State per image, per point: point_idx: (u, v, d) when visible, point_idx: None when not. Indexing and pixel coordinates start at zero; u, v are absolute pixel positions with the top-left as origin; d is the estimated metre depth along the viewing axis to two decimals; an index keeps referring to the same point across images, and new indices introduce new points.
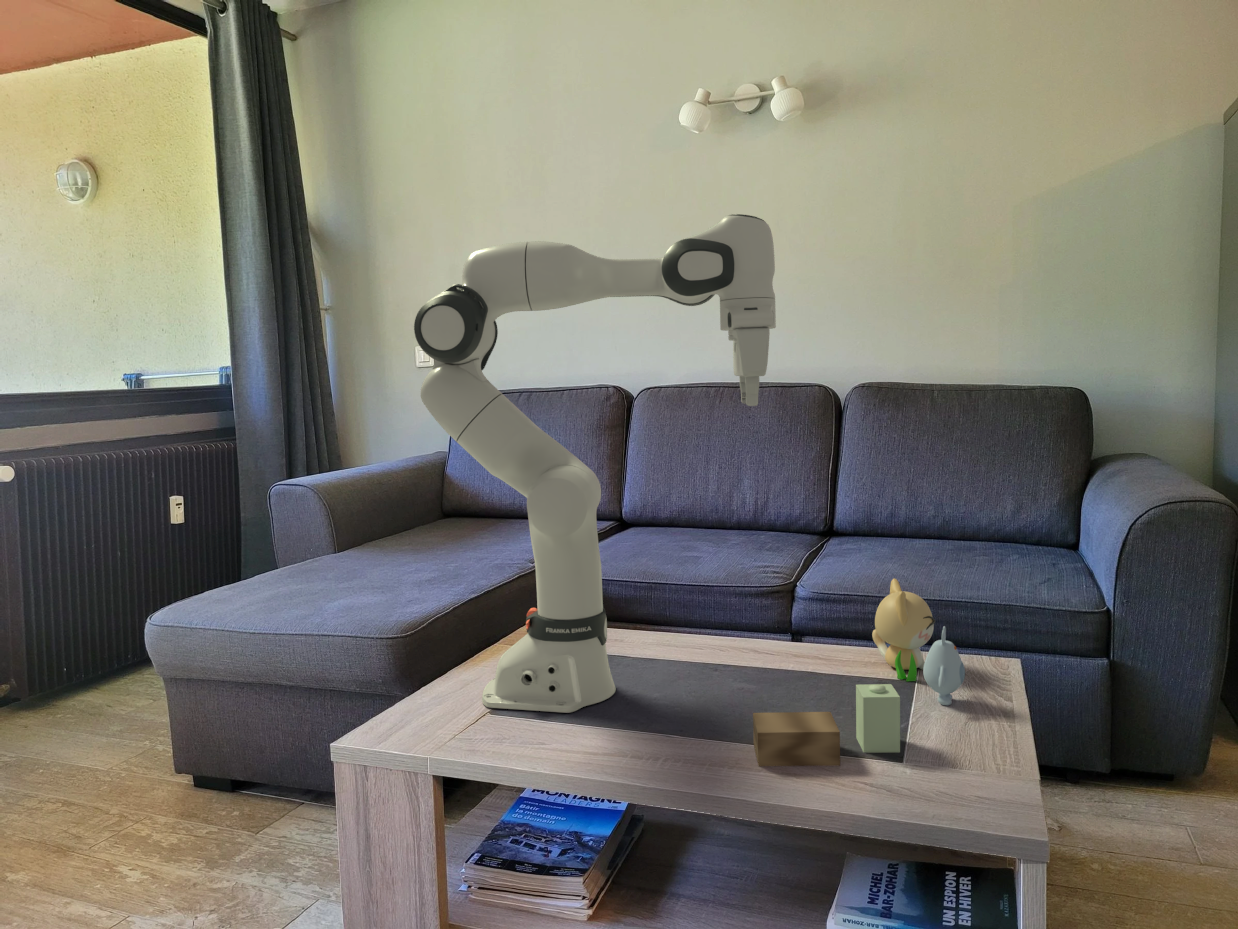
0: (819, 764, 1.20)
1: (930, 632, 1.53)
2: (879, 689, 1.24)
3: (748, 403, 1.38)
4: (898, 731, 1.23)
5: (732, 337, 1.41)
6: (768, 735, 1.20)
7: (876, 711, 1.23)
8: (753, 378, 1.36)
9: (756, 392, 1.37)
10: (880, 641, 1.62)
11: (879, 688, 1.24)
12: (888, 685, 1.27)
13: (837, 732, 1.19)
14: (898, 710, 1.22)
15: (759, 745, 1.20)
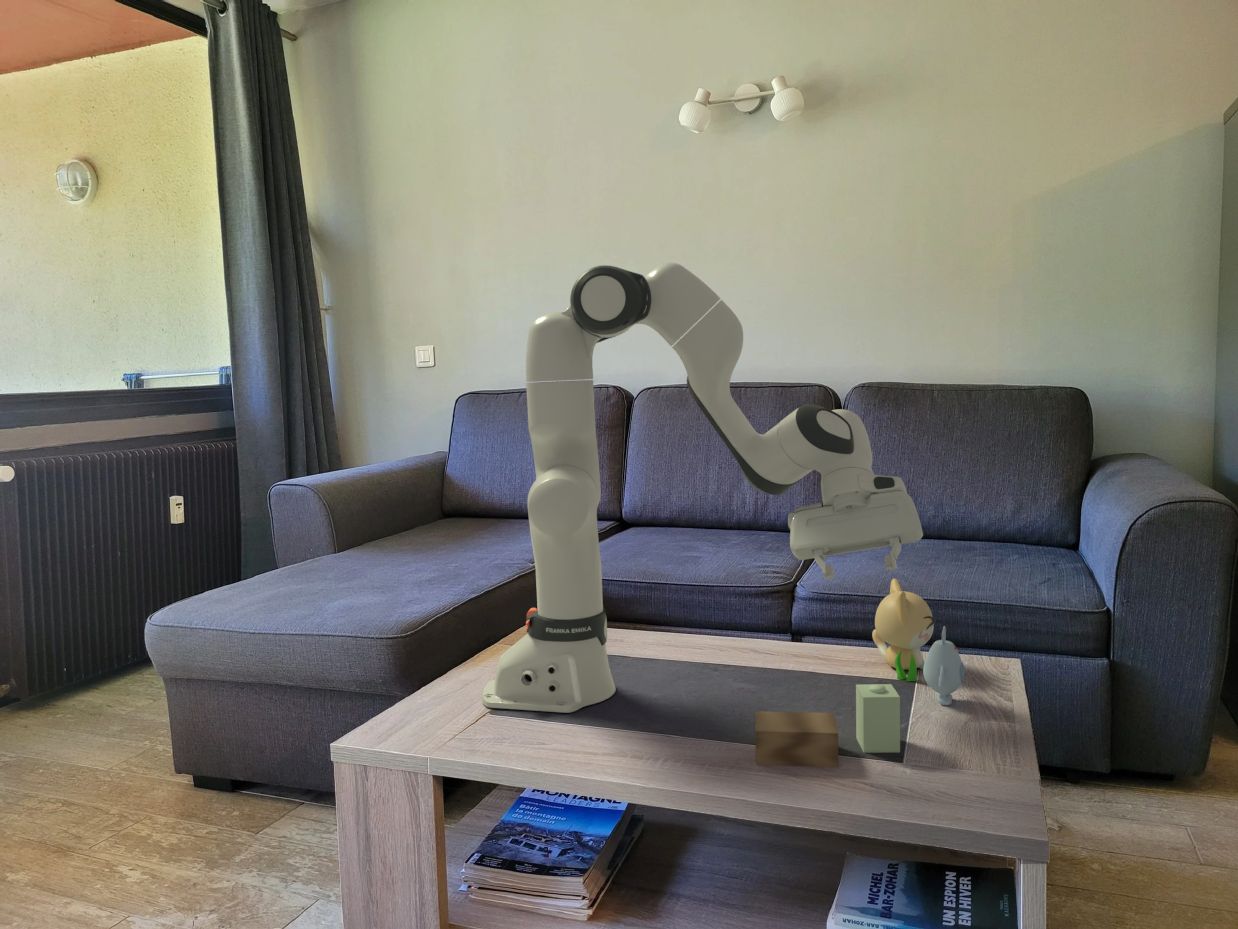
0: (817, 765, 1.20)
1: (930, 632, 1.53)
2: (879, 689, 1.24)
3: (895, 562, 1.33)
4: (898, 731, 1.23)
5: (859, 502, 1.39)
6: (766, 734, 1.20)
7: (876, 711, 1.23)
8: (899, 542, 1.35)
9: (896, 556, 1.35)
10: (880, 641, 1.62)
11: (879, 688, 1.24)
12: (888, 685, 1.27)
13: (835, 733, 1.19)
14: (898, 710, 1.22)
15: (757, 743, 1.20)
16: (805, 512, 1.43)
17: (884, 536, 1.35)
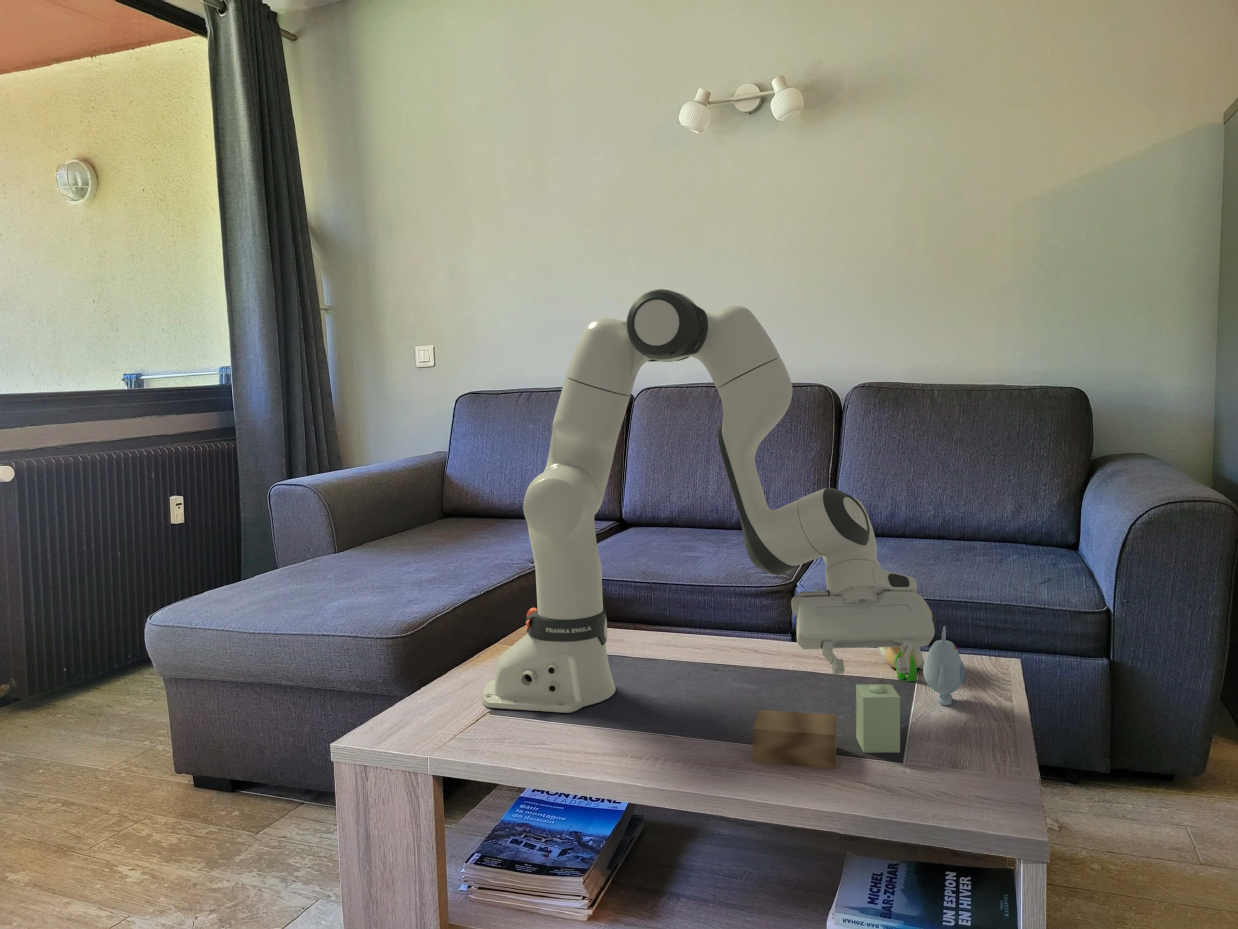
0: (814, 766, 1.19)
1: None
2: (879, 689, 1.24)
3: (909, 666, 1.29)
4: (898, 731, 1.23)
5: (873, 598, 1.34)
6: (763, 732, 1.21)
7: (876, 711, 1.23)
8: None
9: None
10: None
11: (879, 688, 1.24)
12: (888, 685, 1.27)
13: (832, 735, 1.18)
14: (898, 710, 1.22)
15: (754, 741, 1.21)
16: (813, 599, 1.36)
17: (898, 637, 1.31)
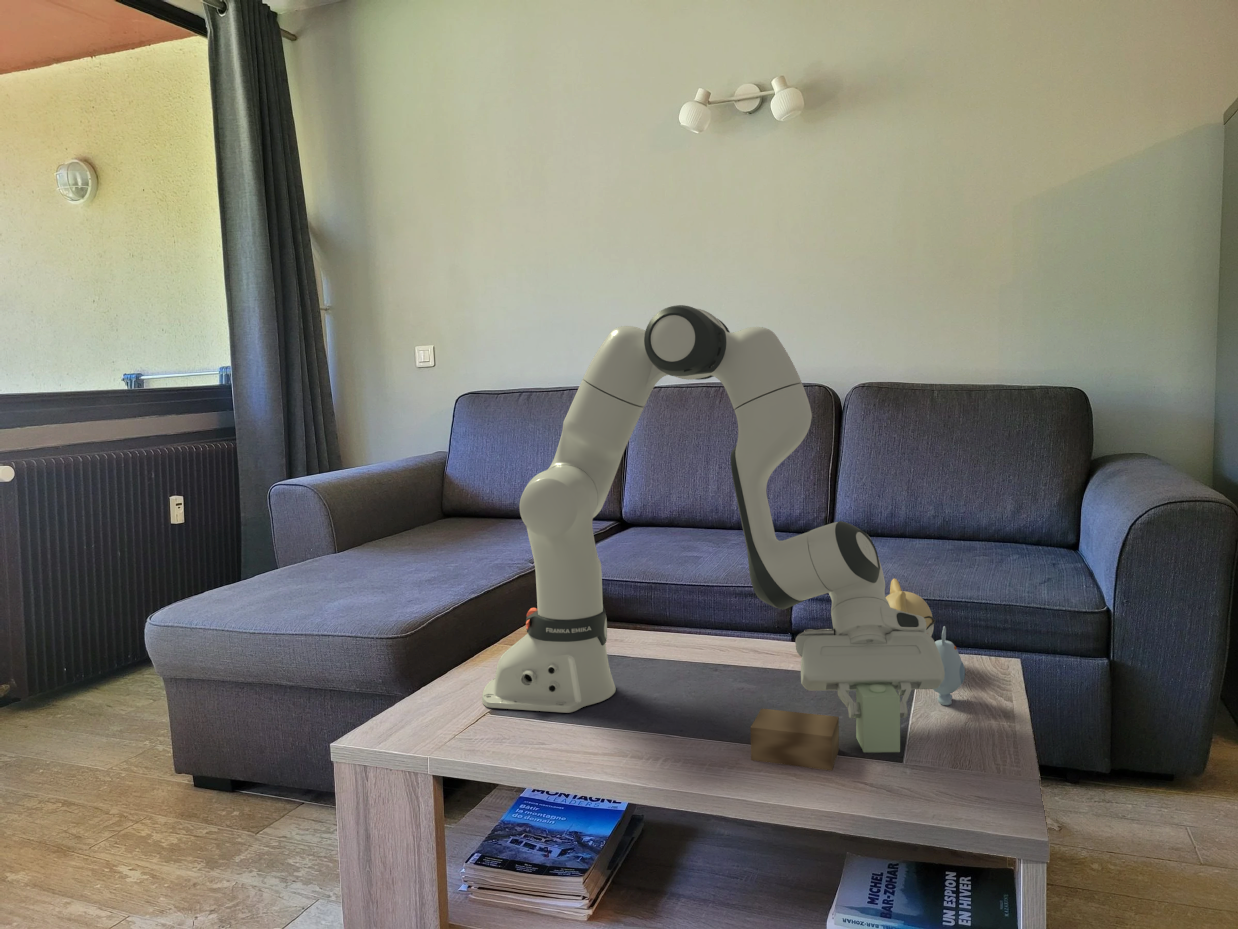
0: (811, 766, 1.19)
1: (930, 632, 1.53)
2: (879, 689, 1.24)
3: None
4: (898, 731, 1.23)
5: (881, 638, 1.29)
6: (760, 731, 1.21)
7: (876, 711, 1.23)
8: None
9: None
10: None
11: (879, 688, 1.24)
12: (888, 685, 1.27)
13: (829, 737, 1.18)
14: (898, 710, 1.22)
15: (752, 740, 1.22)
16: (818, 638, 1.31)
17: (907, 680, 1.26)
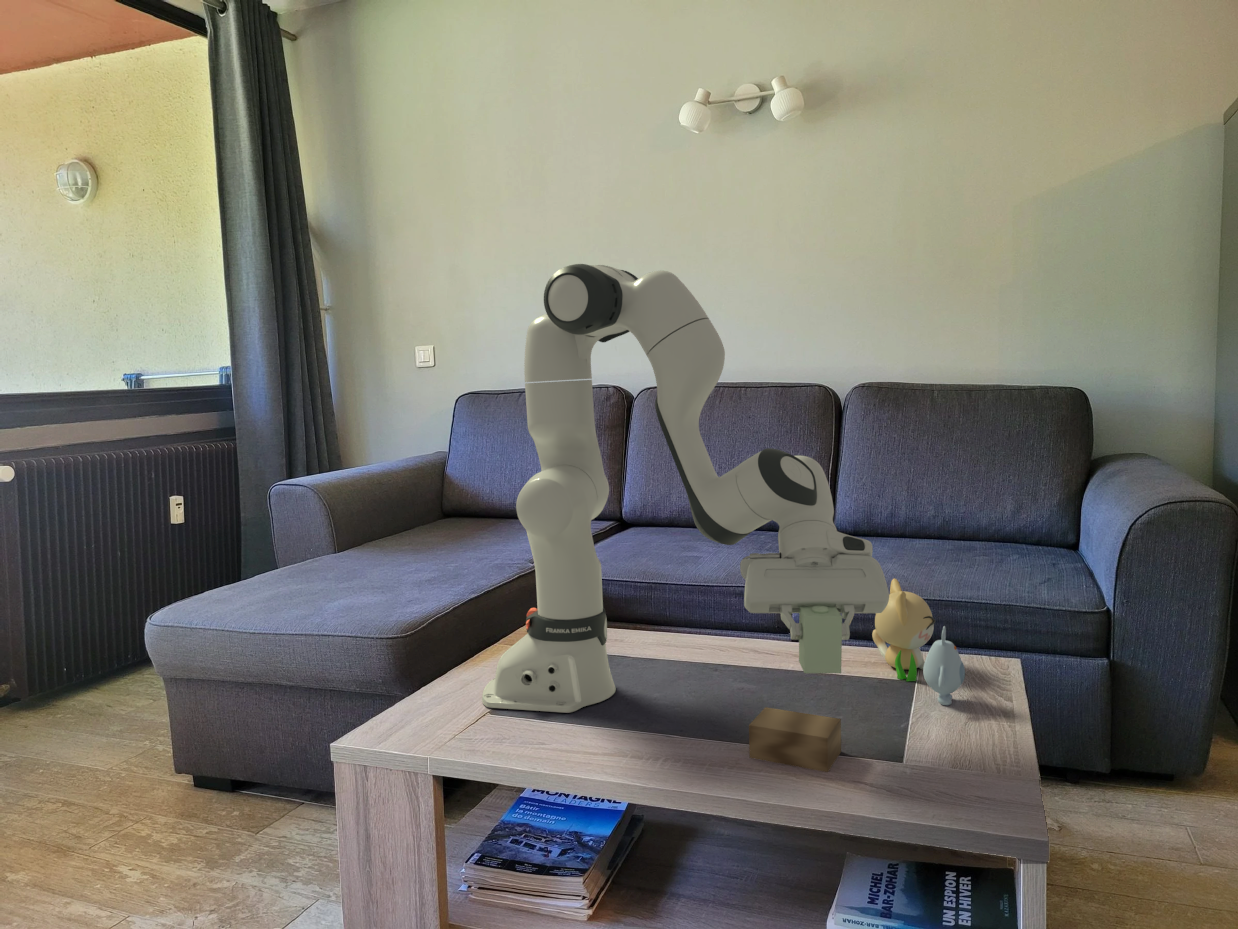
0: (807, 767, 1.19)
1: (930, 632, 1.53)
2: (822, 609, 1.21)
3: (849, 633, 1.22)
4: (839, 651, 1.20)
5: (826, 561, 1.27)
6: (758, 729, 1.22)
7: (818, 631, 1.20)
8: None
9: None
10: (880, 641, 1.62)
11: (822, 608, 1.22)
12: (832, 607, 1.24)
13: (825, 738, 1.17)
14: (840, 630, 1.20)
15: (750, 737, 1.23)
16: (763, 561, 1.28)
17: (850, 602, 1.24)
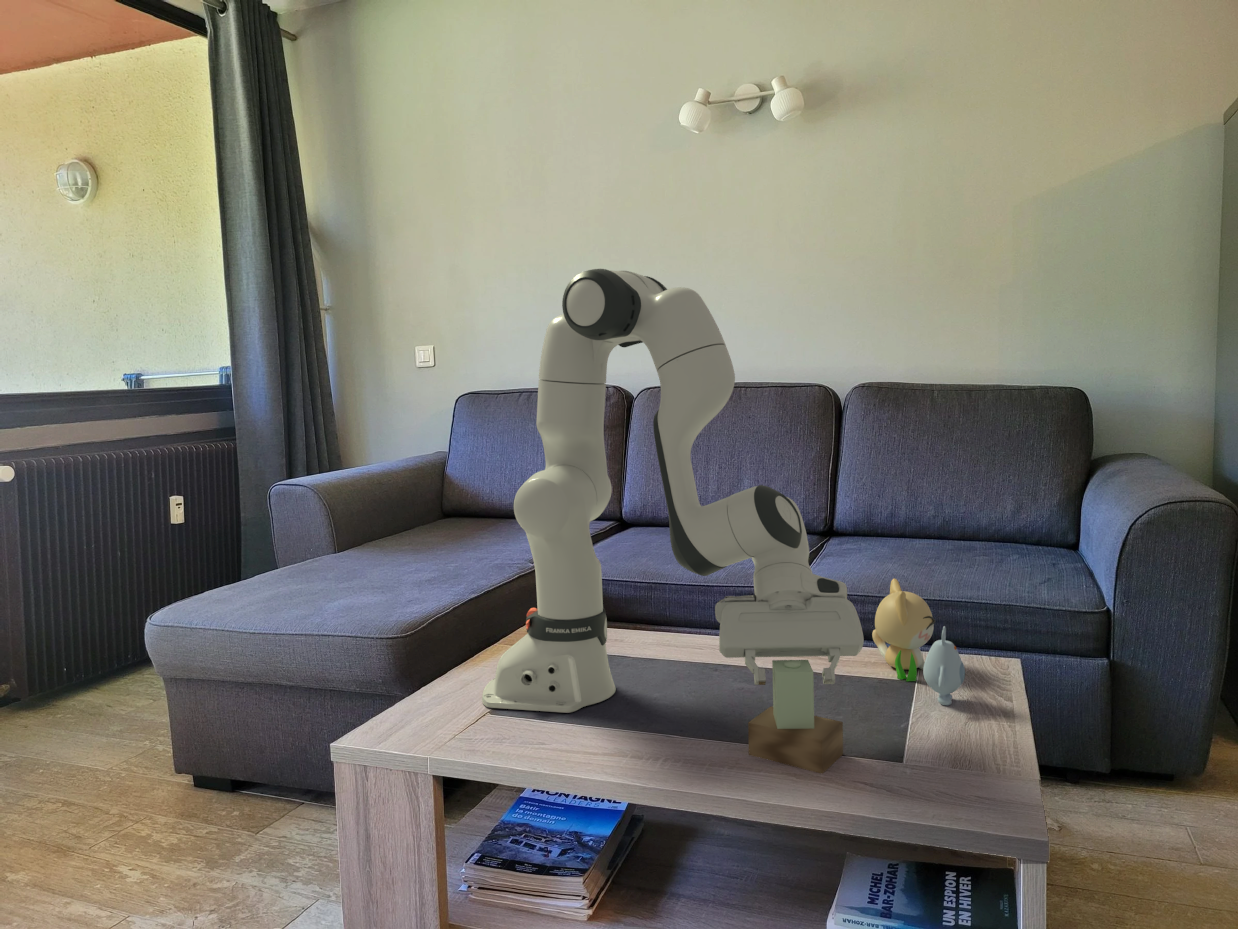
0: (803, 767, 1.19)
1: (930, 632, 1.53)
2: (793, 664, 1.21)
3: None
4: (812, 707, 1.20)
5: (800, 604, 1.26)
6: (757, 727, 1.23)
7: (789, 686, 1.20)
8: None
9: (834, 670, 1.23)
10: (880, 641, 1.62)
11: (794, 663, 1.22)
12: (804, 661, 1.24)
13: (820, 740, 1.17)
14: (812, 685, 1.20)
15: (749, 735, 1.23)
16: (737, 604, 1.28)
17: (825, 646, 1.23)
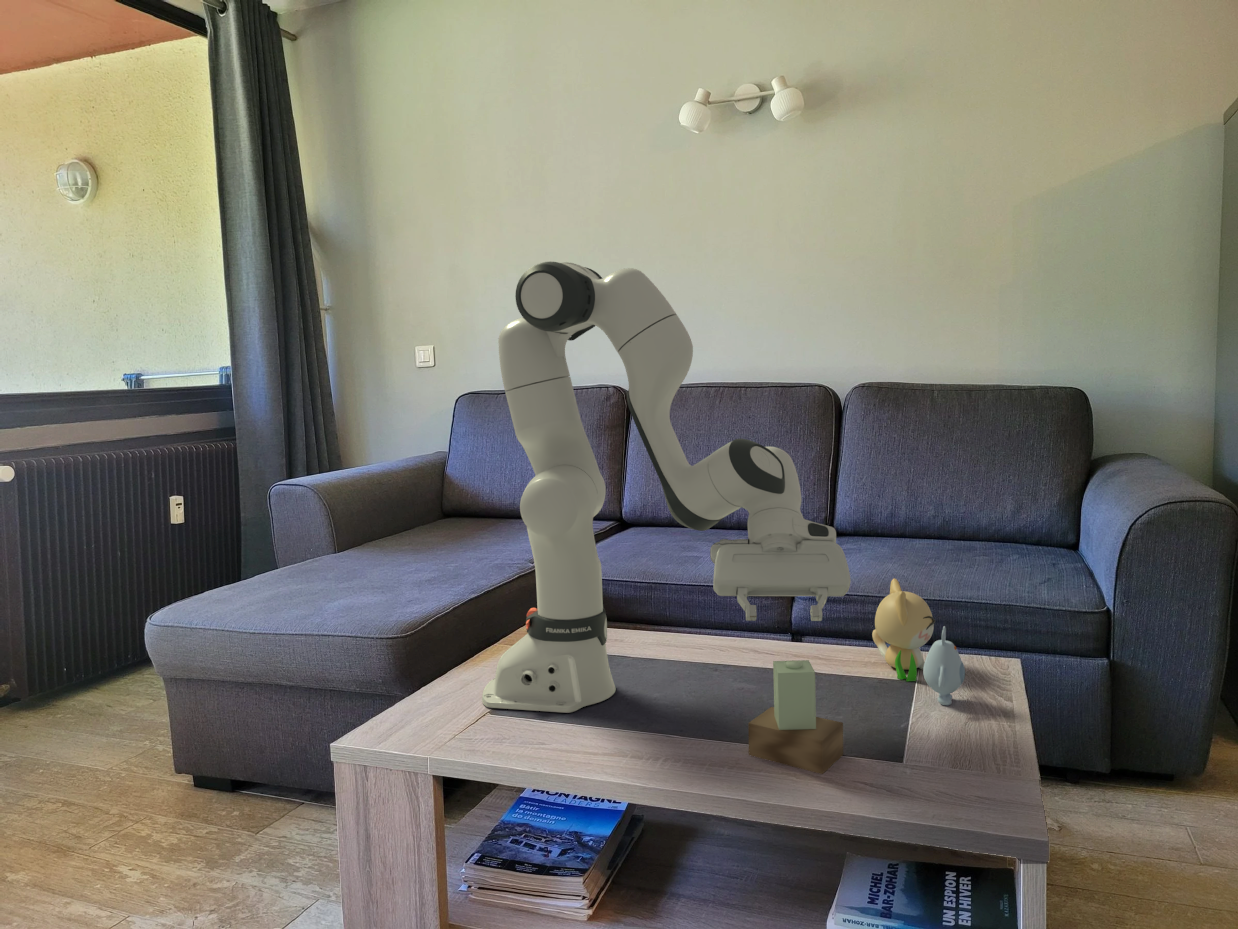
0: (803, 768, 1.19)
1: (930, 632, 1.53)
2: (795, 665, 1.21)
3: None
4: (814, 707, 1.20)
5: (791, 546, 1.33)
6: (757, 727, 1.22)
7: (791, 687, 1.20)
8: None
9: (821, 608, 1.30)
10: (880, 641, 1.62)
11: (795, 664, 1.22)
12: (805, 661, 1.24)
13: (820, 740, 1.17)
14: (813, 686, 1.20)
15: (749, 735, 1.23)
16: (731, 546, 1.35)
17: (813, 585, 1.30)
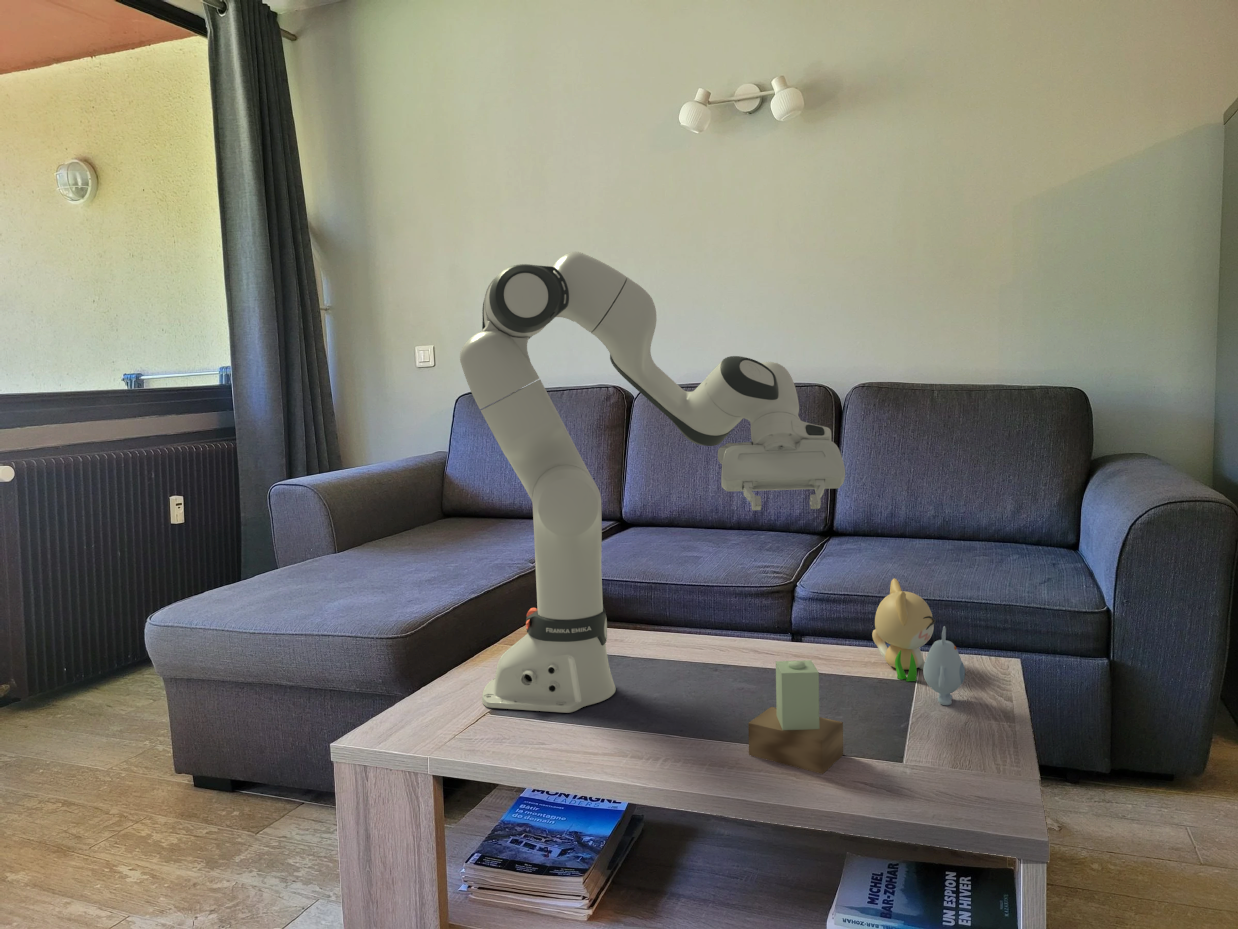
0: (803, 768, 1.19)
1: (930, 632, 1.53)
2: (798, 665, 1.21)
3: (820, 502, 1.42)
4: (817, 707, 1.20)
5: (791, 445, 1.47)
6: (757, 727, 1.22)
7: (795, 687, 1.20)
8: None
9: None
10: (880, 641, 1.62)
11: (798, 664, 1.21)
12: (808, 661, 1.24)
13: (820, 740, 1.17)
14: (817, 686, 1.20)
15: (749, 735, 1.23)
16: (737, 447, 1.48)
17: (812, 477, 1.44)
